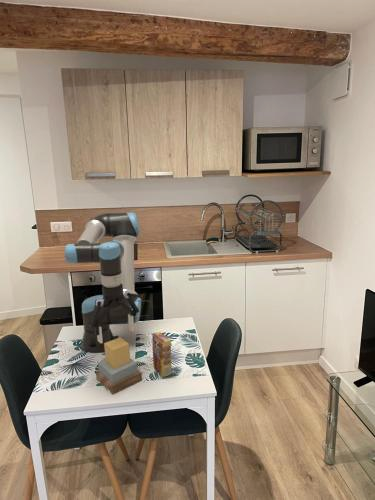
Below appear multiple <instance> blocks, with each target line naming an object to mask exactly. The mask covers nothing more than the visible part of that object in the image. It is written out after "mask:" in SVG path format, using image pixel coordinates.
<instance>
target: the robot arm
mask: <svg viewBox="0 0 375 500" xmlns="http://www.w3.org/2000/svg"><path fill="white" fill-rule="evenodd" d="M140 235H141V233H140V227H139V220H138V217H137V214H136V213H135V212H105V213H101V214H98V215H95V216H94V217H93V218H91V219H90V220H89V221H88V222H86V224H85V226H84V231H83V232H82V234H81V236H80V237H79V238H78V240H77V241H76V243H69V244H66V245H65V248H64V258H65V261H66V263H68V264H87V263H89V264H90V263H91V264H92V263H99V265H100V266H99V268H100V279H101V285H102V286H101V289H102V290H101V291H102V294H98V295H94V296H90V297H88V298H86V299H85V300H83V302H82V303H81V314H82V321H83V336H82V339H81V349H82V350H83V351H85V352H87V353H101V352H105V347H104V343H106V342H109V341H112V340H114V339H115V336H114V334H113V331H112V330H111V328H110V325H128V330H129V331H131V332H135V324H136V323H139V321H140V315H141V309H142V305H141V304H142V298H140V297H138V296H139V295H138V293H137V292H136V291H135V251H134V249H135V247H134V244H135V242H136V241H137V240H138V237H139V236H140ZM104 237H105V238H107V237H108V238H109V237H112V240H111V241H108V242H99V241H100V240H101V239H102V238H104Z"/></svg>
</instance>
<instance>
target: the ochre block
mask: <svg viewBox="0 0 375 500" xmlns="http://www.w3.org/2000/svg"><path fill="white" fill-rule="evenodd" d="M104 347H105V351H104V355H105V356H104V357H105V359H106V362H107V363H108V364H109V365H110V366H111V367H112V368H114V369H116V368H118V367H121V366H123V365H125V364H128V363H130V359H131V355H130V353H131V352H130V343H129V342H127V341H126V340H124V339H123V338H121V337H118V338H114V340H112V341H109V342H106V343H104Z"/></svg>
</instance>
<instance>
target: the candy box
mask: <svg viewBox="0 0 375 500" xmlns="http://www.w3.org/2000/svg"><path fill="white" fill-rule="evenodd" d="M151 335H152V338H151V339H152V342H151V343H152V364H153V369H154V370H155V371H156V372H157V373H158V374H159V375H160V376H161V377H162V378H166V377H168V376H171V375H172V346H171V345H172V341H171V339H170V338H169V337H167V336H166V335H165V334H164V333H162V332H161V331H159V332H155V333H152V334H151Z"/></svg>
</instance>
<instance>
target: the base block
mask: <svg viewBox="0 0 375 500" xmlns="http://www.w3.org/2000/svg"><path fill="white" fill-rule="evenodd" d="M95 376H96V377H95V378H96V380H97V381H98V382H99V384H101V385H102V386H103V387H104V388H105V389H106V390H109V391H110V392H109V391H108V392H109V393H111V394H112V395H114V394H116V393H119V392H121V391H124V390H126V389H127V388H130V387H131V386H134V385H135V384H137V383H140V382H142V381H143V373H142V371H140V370H139V369H138V368H137V373H135V374H133V375H131V376H128V377H126V378H124V379H122V380H120V381H118V382H116V383H114V384H112V383H111V382H110V381H109V380H108V379H106V378H105V377H104V376H103V375H102V374H101V373H100V372H99V370H96V371H95ZM129 386H130V387H129Z"/></svg>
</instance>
